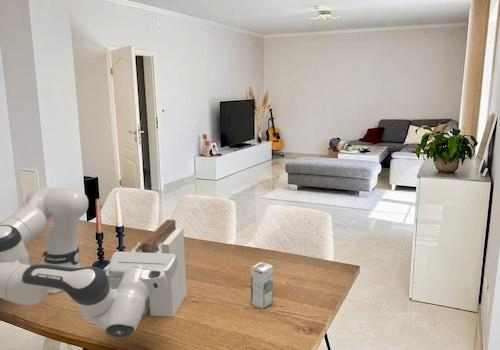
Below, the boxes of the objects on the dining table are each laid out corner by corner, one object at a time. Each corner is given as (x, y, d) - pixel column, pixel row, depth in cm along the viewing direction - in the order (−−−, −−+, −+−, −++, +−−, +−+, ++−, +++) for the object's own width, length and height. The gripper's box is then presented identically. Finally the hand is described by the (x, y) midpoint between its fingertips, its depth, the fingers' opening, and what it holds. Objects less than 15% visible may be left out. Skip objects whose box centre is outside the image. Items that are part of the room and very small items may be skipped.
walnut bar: (142, 254, 129) (141, 244, 129) (167, 228, 153) (167, 219, 152) (151, 255, 129) (150, 244, 128) (175, 229, 152) (175, 219, 152)
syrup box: (260, 298, 154) (260, 261, 151) (273, 303, 151) (273, 265, 148) (250, 304, 150) (250, 266, 147) (263, 309, 146) (263, 270, 143)
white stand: (150, 315, 144) (145, 243, 139) (166, 293, 159) (162, 227, 154) (173, 316, 143) (168, 244, 137) (186, 294, 158) (183, 228, 153)
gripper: (106, 285, 126) (122, 248, 136) (172, 289, 123) (183, 251, 133) (100, 273, 122) (116, 236, 132) (168, 276, 119) (179, 238, 129)
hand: (150, 243), depth 132 cm, fingers open, 5 cm apart
